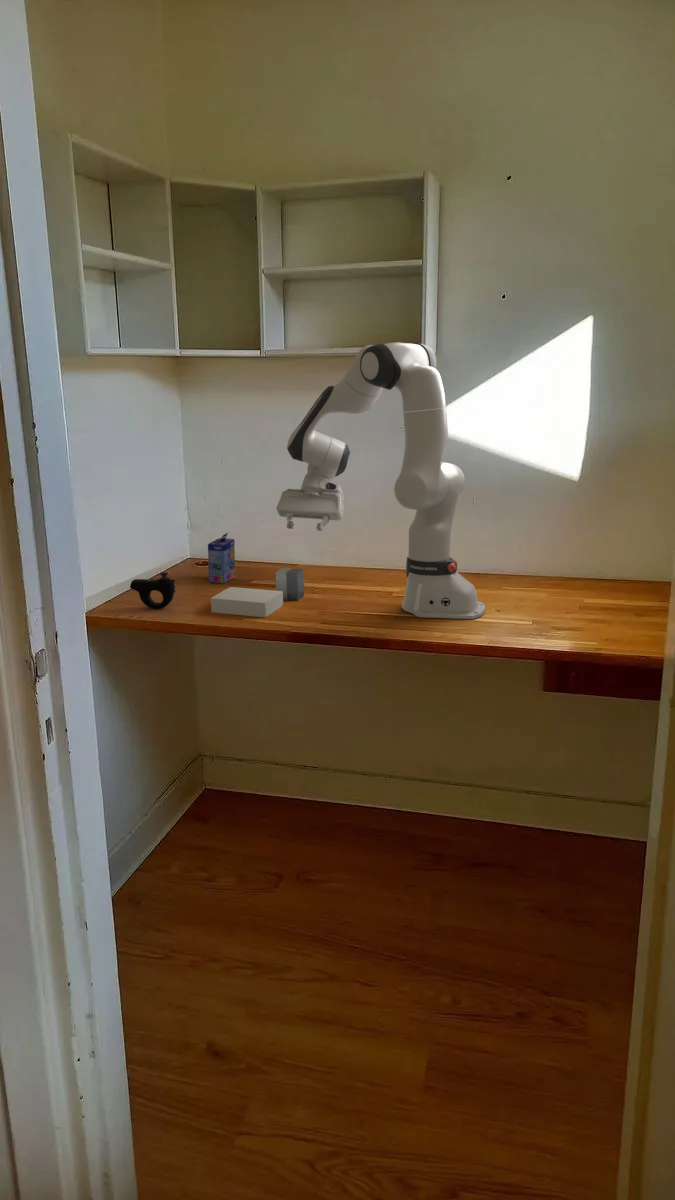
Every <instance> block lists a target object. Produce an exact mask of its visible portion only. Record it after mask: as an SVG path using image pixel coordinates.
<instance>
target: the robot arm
mask: <svg viewBox="0 0 675 1200" xmlns="http://www.w3.org/2000/svg"><path fill="white" fill-rule="evenodd" d="M393 388H396V389H397V390H398V391H399V392H400V394H401V399H402V412H403V426H404V442H405V443H404V452H403V453H404V454H403V458H402V465H401V470H400V473H399V474H398V475H399V476H398V477H397V479H396V480H395V483H394V487H393V488H394V489H393V490H394V496H395V498H396V500H397V503H399V504H400V506H402V507H403V508H405V509H408V510H416V513H415V515H414V518H413V520H412V522H411V524H410V526H409V529H408V556H407V557H406V562H405V563H406V565H405V573H406V578H407V579H406V585H405V586H406V587H405V593H404V599H403V602H402V604H401V608H402V610H403V611H405V612H408V613H411V614H412V615H414V616H415V617H417V618H429V619H430V618H431V619H432V618H433V619H434V618H435V619H458V620H459V619H464V620H467V619H468V620H474V619H477V618H480V617H481V616H483V615H484V613H485V612H486V605H485V604H484V603H483V602H482V601H478V594H477V589H476V588H475V585H474V584H472V582H470V581H469V580H467V579H466V578H465V577H464V576H463V575H461V574H460V573H459V572H458V559H453V558H452V557H451V555H450V554H451V553H450V552H451V533H452V526H453V520H454V516H455V512H456V509H457V508H456V507H457V504H458V500H459V497H460V495H461V494H462V492H463V491H464V488H465V485H466V479H465V475H464V472H463V471H462V469H461V468H460V467H459V466H457V464H454V463H450V462H444V461H443V454H444V450H445V447H446V444H447V443H448V441H449V431H448V430H449V428H448V415H447V403H446V402H447V401H446V395H445V389H444V385H443V381H442V377H441V374H440V372H439V371H438V369H437V356H436V354H435V351H434V350H433V349H432V348H431V347H430V346H429V345H426V344H423V343H420V342H414V343H409V342H399V341H396V342H395V341H393V342H387V343H376V344H368V345H364V346H363V347H362V348H361V349H360V350H359V351H358V352H357V354H356V355H355V357H354V358H353V359H352V361H351V363H350V365H349V367H348V368H347V370H346V373H345V374H344V376H343V378H342V380H341V381H339V382H338V383H336V384H334V385H329V386H327V387H326V388H325V389H324V390H323V391H322V392H321V394H320V395H319V396H318V398H317V399H316V401H315V402H314V403H313V405H312V407H311V408H310V409H309V410H308V412H307V414H306V415H305V416H304V418H303V419H302V420H301V422H300V423H299V425H298V426H297V427H296V428H295V429H294V430H293V432H292V433H291V434H290V436H289V439H288V441H287V446H286V449H287V451H288V454H289V455H290V457H291V459H293V460H294V461H295V460H296V461H299V462H302V463H306V464H308V465H307V468H306V471H307V472H306V474H305V475H304V477H303V480H302V484H301V488H300V489H299V488H296V489H295V488H294V489H292V488H287V489H286V490H284V491H282V493H281V494H280V495H281V496H280V499H279V501H278V502H277V505H276V511H277V513H278V515H279V516H280V517H285V518H286V520H287V522H286V527H287V528H286V529H289V530H290V529H291V530H292V529H293V528H294V525H295V524H294V522H293V521H292V520H293V518H298V519H313V520H322V521H320V522H318V523H317V525H316V527H315V528H316V530H317V531H318V532H323V531H324V527H326V526H327V525H328V524H329V522H330V521H337V522H338V521H340V520H341V519H343V515H344V510H345V503H344V501H345V495H344V492H343V490H342V487H341V485H339V484H336V483H334V482H333V479H334V478H336V477H339V476H340V475H342V474H343V473H344V472H345V471H346V468H347V466H348V465H347V464H348V462H349V457H350V454H351V452H350V448H349V446H348V445H347V443H346V442H344V441H342V440H339V439H337V438H335V437H332V436H329V435H327V434H323V433H321V432H319V431H317V430H316V429H317V427H318V425H319V423H320V422H321V421H322V420H323V418H324V417H325V416H327V415H331V414H336V413H340V414H341V413H343V414H355V415H356V414H362V413H365V412H367V411H369V410H371V409H372V408H373V407H374V406H375V404H376V402H377V401H378V400H379V398H380V396H381V394H382V393H383V389H386V390H387V391H388V390H390V391H391V390H392V389H393Z"/></svg>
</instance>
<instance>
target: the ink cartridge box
mask: <svg viewBox="0 0 675 1200" xmlns="http://www.w3.org/2000/svg"><path fill="white" fill-rule="evenodd" d="M227 536H228V532H226V533H224V534H223V535H222V536H221V537H219V538H217V539H215V540H213V541H211V542H208V544H207V562H208V582H209V583H217V584H225V583H227V582H229V581H230V580H232V579H233V578H234V577H233V576H235V577H236V575H235V574H236V573H235V571H236V567H235V566H236V565H235V563H236V562H235V559H236V557H235V555H236V554H235V538H227ZM232 577H233V578H232Z"/></svg>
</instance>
